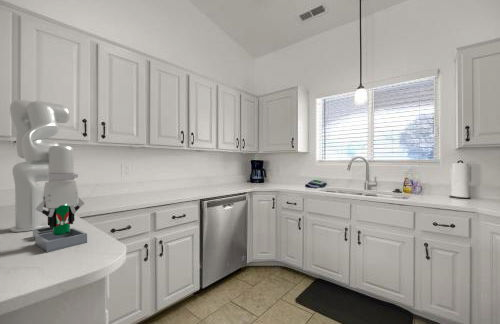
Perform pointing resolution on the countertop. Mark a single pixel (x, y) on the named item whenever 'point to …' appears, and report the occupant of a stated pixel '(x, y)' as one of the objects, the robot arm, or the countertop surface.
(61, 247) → the tray
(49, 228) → the pin socket
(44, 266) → the countertop surface
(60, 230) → the soda can
